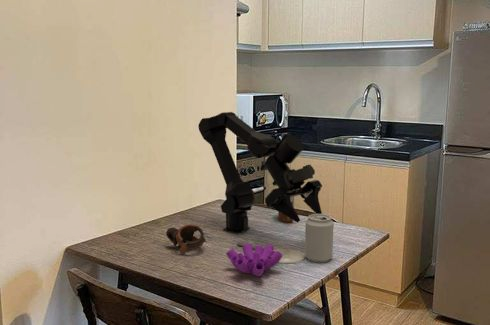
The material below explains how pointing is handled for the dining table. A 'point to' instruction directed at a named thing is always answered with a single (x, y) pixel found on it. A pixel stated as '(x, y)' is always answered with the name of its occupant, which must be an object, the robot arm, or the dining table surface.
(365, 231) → the dining table surface
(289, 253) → the disc
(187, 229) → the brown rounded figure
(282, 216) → the food container
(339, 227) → the dining table surface
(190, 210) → the dining table surface
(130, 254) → the dining table surface
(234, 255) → the purple tube coral sculpture
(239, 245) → the thin grey rod
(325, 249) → the can
